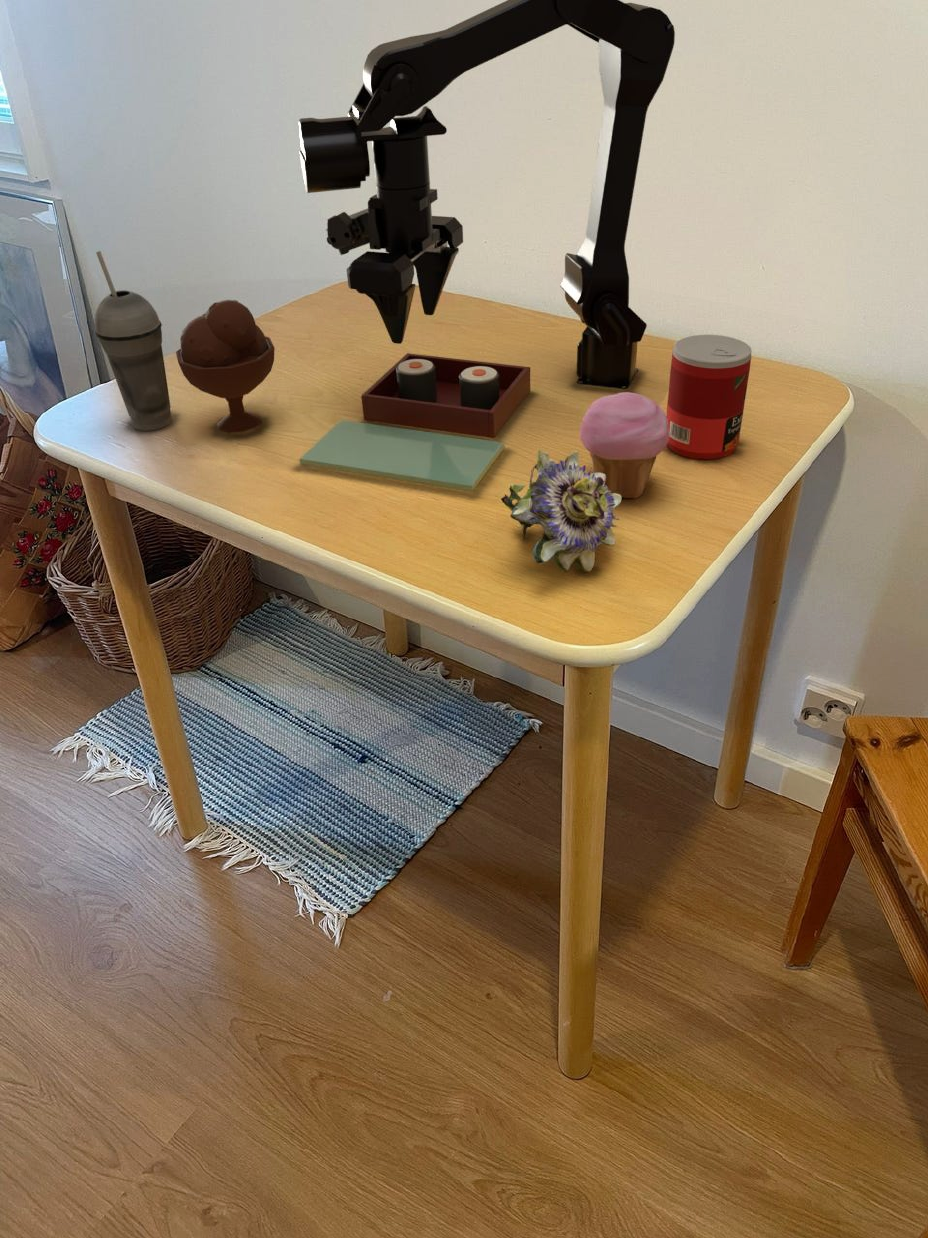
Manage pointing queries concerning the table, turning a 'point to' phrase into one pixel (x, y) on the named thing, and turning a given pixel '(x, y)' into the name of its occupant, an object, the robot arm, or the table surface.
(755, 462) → the table surface
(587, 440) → the cupcake
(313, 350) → the table surface
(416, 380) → the cylinder
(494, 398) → the cylinder
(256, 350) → the ice cream bowl
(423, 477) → the plate
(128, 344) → the beverage cup
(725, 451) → the canned food
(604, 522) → the passion flower
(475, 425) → the sushi box
